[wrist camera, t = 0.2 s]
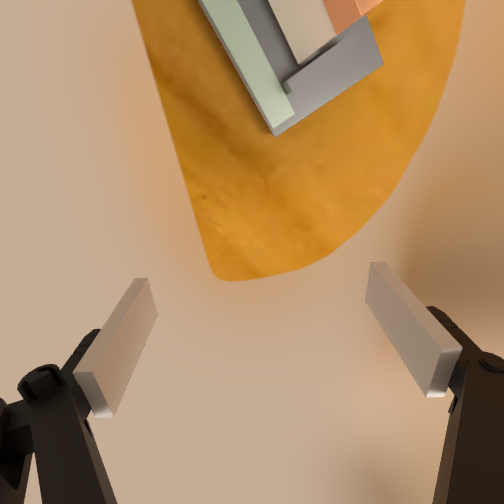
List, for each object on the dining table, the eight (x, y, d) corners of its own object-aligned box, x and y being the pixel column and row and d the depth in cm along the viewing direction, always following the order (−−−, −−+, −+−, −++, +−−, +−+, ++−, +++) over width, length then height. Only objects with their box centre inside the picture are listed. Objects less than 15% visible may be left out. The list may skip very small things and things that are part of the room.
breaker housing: (299, -106, 29) (320, -198, 20) (366, 70, 35) (403, 56, 27) (191, -9, 32) (170, -54, 23) (272, 134, 39) (278, 140, 30)
